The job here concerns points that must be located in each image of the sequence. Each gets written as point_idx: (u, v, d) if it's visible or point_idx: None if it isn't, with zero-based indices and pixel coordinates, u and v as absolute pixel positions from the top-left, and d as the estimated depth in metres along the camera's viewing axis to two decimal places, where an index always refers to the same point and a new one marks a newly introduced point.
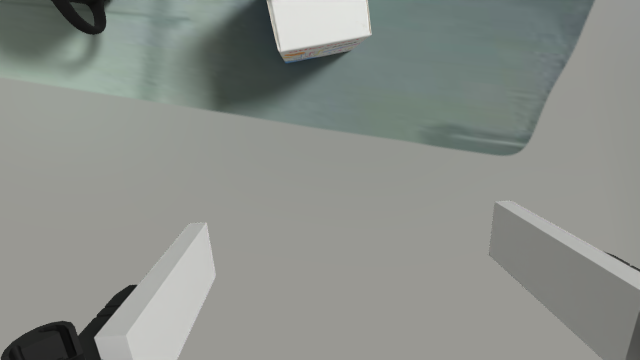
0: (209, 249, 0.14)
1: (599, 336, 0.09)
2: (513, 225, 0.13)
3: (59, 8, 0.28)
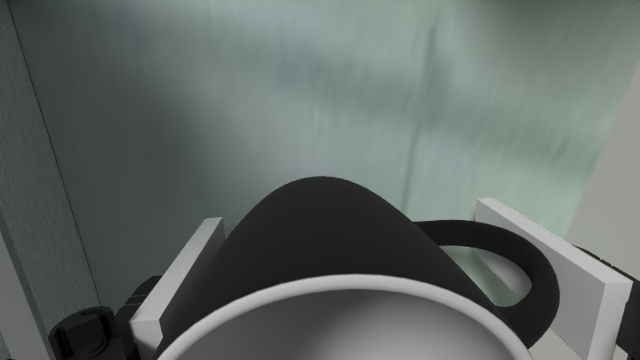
0: None
1: (568, 326, 0.10)
2: (493, 221, 0.13)
3: (542, 334, 0.08)
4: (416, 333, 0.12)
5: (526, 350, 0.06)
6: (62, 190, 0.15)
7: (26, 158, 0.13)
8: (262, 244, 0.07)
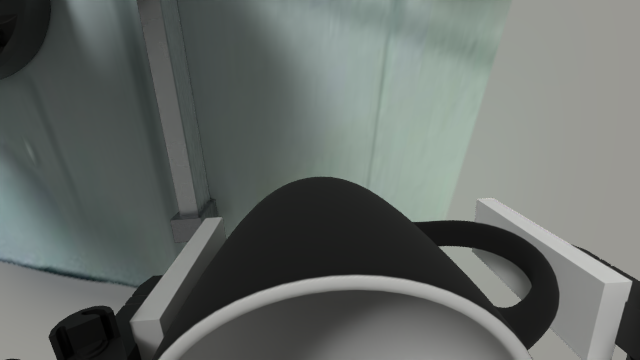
0: None
1: (567, 326, 0.10)
2: (493, 221, 0.13)
3: (541, 335, 0.08)
4: (416, 333, 0.12)
5: (526, 351, 0.06)
6: (187, 68, 0.26)
7: (177, 42, 0.24)
8: (262, 245, 0.07)
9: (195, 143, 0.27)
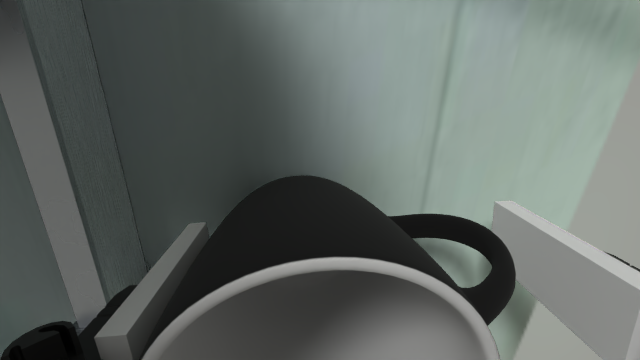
0: None
1: (599, 336, 0.09)
2: (513, 225, 0.13)
3: (500, 311, 0.09)
4: (392, 319, 0.13)
5: (482, 320, 0.07)
6: (92, 56, 0.14)
7: (59, 4, 0.12)
8: (248, 236, 0.08)
9: (110, 193, 0.15)
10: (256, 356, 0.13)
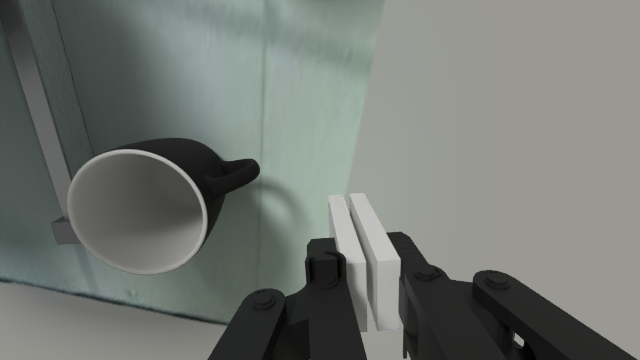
0: None
1: (373, 300, 0.11)
2: (353, 213, 0.15)
3: (229, 189, 0.22)
4: None
5: (188, 176, 0.20)
6: (70, 76, 0.27)
7: (52, 52, 0.25)
8: None
9: (81, 148, 0.28)
10: (150, 226, 0.27)
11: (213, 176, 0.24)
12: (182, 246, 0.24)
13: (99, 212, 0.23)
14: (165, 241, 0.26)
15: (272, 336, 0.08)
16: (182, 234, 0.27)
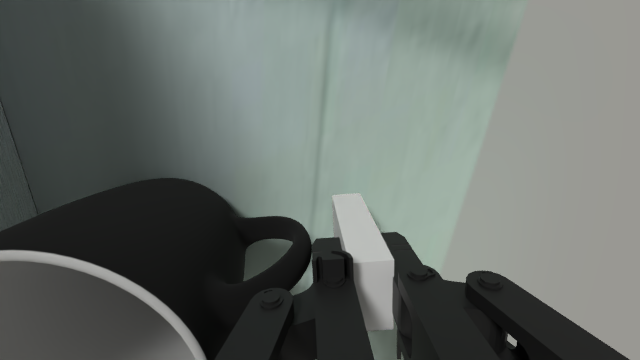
0: None
1: None
2: None
3: None
4: None
5: (168, 310, 0.08)
6: None
7: None
8: (0, 231, 0.09)
9: (6, 192, 0.16)
10: (108, 341, 0.15)
11: (225, 268, 0.12)
12: None
13: None
14: None
15: (279, 336, 0.08)
16: (165, 354, 0.15)
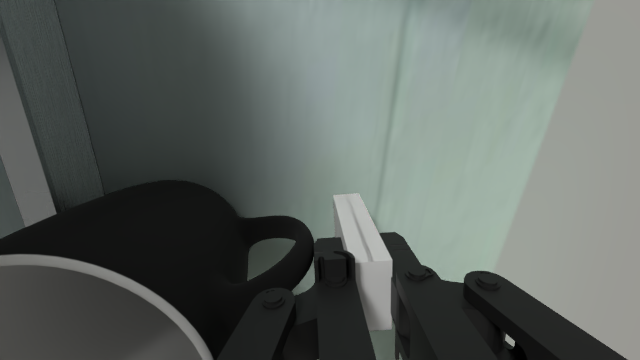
0: None
1: None
2: None
3: None
4: None
5: (174, 310, 0.08)
6: (67, 60, 0.15)
7: (34, 12, 0.14)
8: (6, 236, 0.09)
9: (85, 186, 0.16)
10: (114, 343, 0.15)
11: (228, 268, 0.12)
12: None
13: None
14: None
15: (282, 335, 0.08)
16: (172, 355, 0.15)
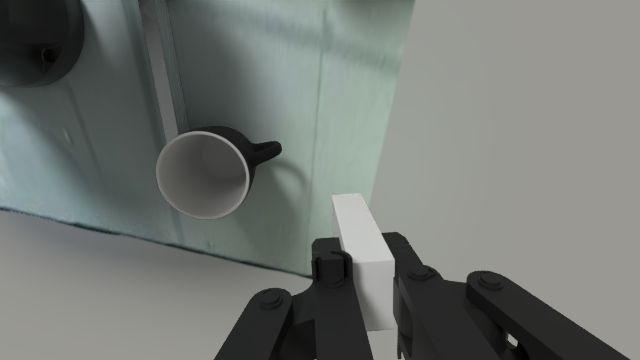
0: None
1: None
2: None
3: (263, 160, 0.32)
4: None
5: (237, 149, 0.30)
6: (179, 76, 0.37)
7: (171, 58, 0.35)
8: None
9: (185, 129, 0.37)
10: (201, 191, 0.36)
11: (250, 152, 0.33)
12: (227, 203, 0.34)
13: (171, 177, 0.33)
14: (213, 200, 0.35)
15: (279, 335, 0.08)
16: (224, 196, 0.36)
